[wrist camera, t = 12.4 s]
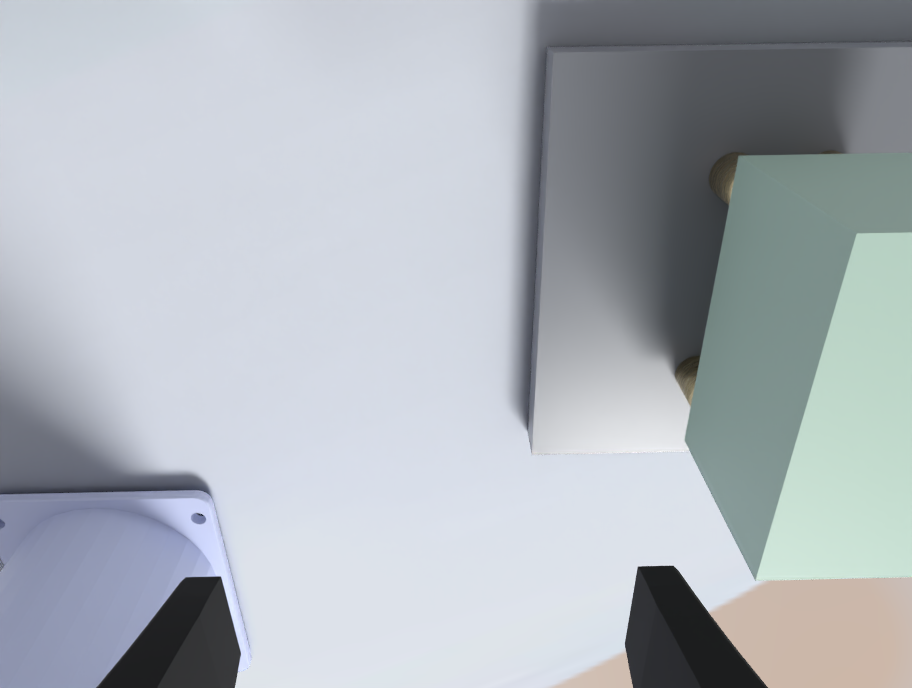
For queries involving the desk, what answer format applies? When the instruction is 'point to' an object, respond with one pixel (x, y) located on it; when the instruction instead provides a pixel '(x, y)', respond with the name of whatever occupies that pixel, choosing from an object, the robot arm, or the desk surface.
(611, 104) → the plate
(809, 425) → the board block
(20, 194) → the desk surface
